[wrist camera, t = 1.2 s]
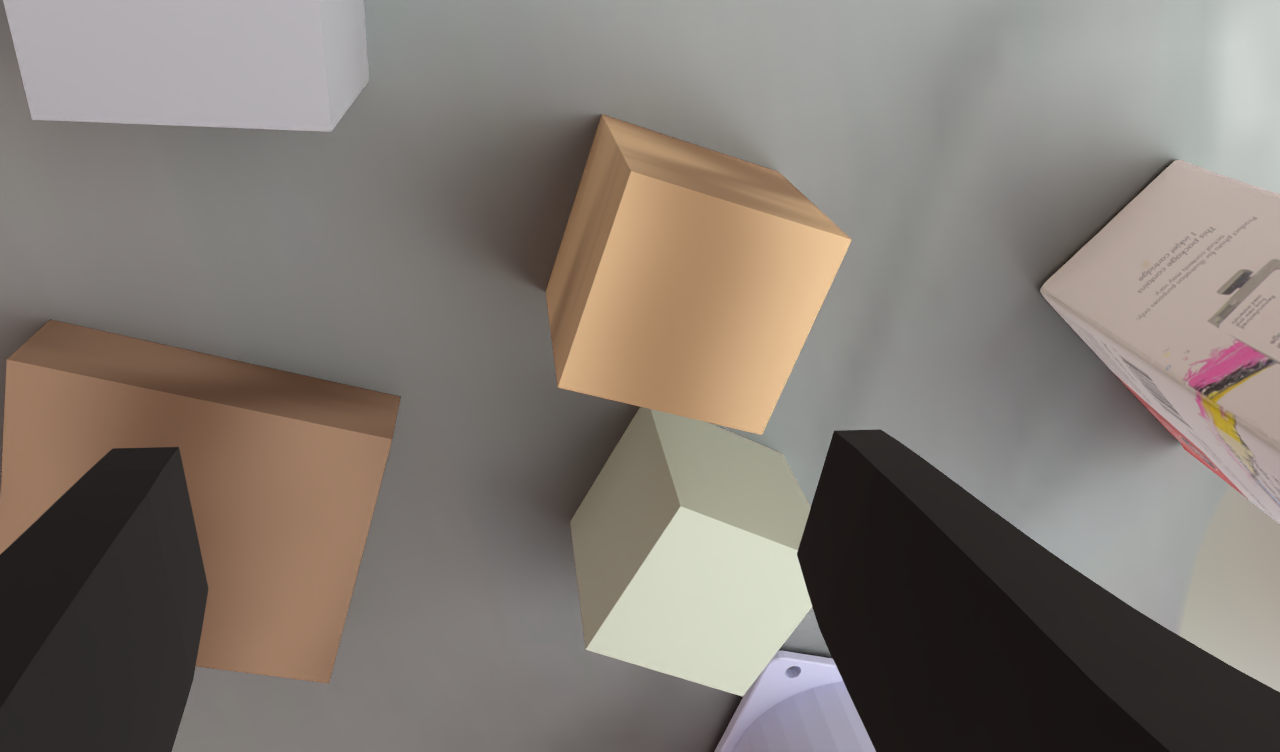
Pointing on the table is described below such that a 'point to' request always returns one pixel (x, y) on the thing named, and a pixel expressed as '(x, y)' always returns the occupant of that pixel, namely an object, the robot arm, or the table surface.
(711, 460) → the sage block
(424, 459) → the table surface
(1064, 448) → the table surface
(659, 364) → the oak block
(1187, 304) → the ink cartridge box
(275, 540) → the tan flat block
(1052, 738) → the robot arm
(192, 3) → the slate block
